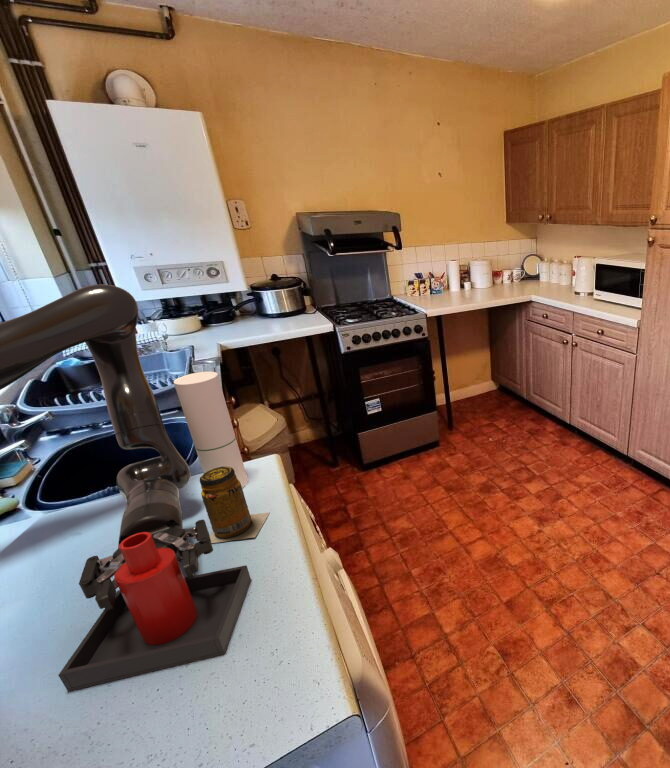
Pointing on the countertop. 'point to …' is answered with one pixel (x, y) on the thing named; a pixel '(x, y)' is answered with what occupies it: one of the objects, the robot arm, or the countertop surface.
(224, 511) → the condiment
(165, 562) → the bottle
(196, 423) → the cylindrical container
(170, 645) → the baking tray
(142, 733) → the countertop surface
